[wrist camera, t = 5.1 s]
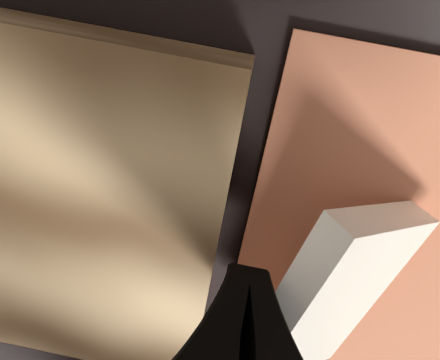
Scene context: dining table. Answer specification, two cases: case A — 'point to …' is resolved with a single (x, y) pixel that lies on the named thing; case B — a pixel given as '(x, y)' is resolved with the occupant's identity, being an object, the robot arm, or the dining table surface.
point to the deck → (111, 184)
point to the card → (347, 270)
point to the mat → (354, 174)
